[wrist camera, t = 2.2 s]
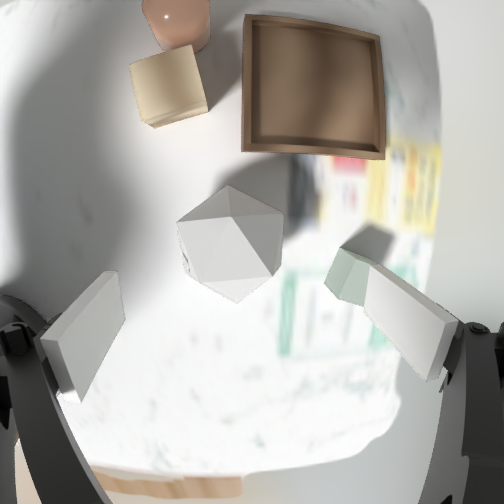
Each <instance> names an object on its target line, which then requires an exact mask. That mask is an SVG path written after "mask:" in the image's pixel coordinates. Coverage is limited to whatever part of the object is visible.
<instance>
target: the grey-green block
mask: <svg viewBox="0 0 504 504" xmlns="http://www.w3.org/2000/svg"><path fill="white" fill-rule="evenodd" d="M370 265H378V264H377V263H375V262H374V261H372V260H371V259H368V258H366V257H363V256H361V255H358V254H356V253H353V252H350V251H348V250H345V249H343V248H340V247H339V250H338V252H337V254H336V257H335V259H334V261H333V264H332V266H331V268H330V270H329V273H328V275H327V277H326V279H325V282H324V284H325V285H326V286H327V287H328V288H329V290H330V291H331V292H332V293H333V294H334V295H335V296H336V298H337V299H339V300H343V301H346V302H350V303H353V304H356V305H360V306H363V307H364V303H365V297H366V290H367V284H368V277H369V270H370Z"/></svg>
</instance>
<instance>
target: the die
mask: <svg viewBox="0 0 504 504" xmlns="http://www.w3.org/2000/svg"><path fill="white" fill-rule="evenodd" d="M283 224H284V213H282V212H280V211H278V210H276V209H274V208H272V207H270V206H268V205H266V204H264V203H262V202H260V201H259V200H257V199H255V198H253V197H251V196H249V195H247V194H245V193H243V192H241V191H239V190H237V189H235V188H233V187H231V186H229V185H226V186H225V187H223V188H222V189H221V190H219V191H218V192H216V193H215V194H214V195H212V196H211V197H209V198H208V199H207V200H205V201H204V202H203V203H201V204H200V205H199V206H197V207H196V208H195V209H193V210H192V211H190V212H189V213H188V214H186V215H185V216H184V217H182V218H181V219H180V220H179V221H177V222H176V226H177V231H178V237H179V242H180V247H181V253H182V258H183V263H184V268H185V273H186V274H187V275H189V276H190V277H192V278H193V279H194V280H196V281H197V282H199V283H200V284H202V285H204V286H206V287H208V288H209V289H211V290H213V291H215V292H216V293H218V294H220V295H222V296H224V297H226V298H227V299H229V300H231V301H233V302H235V303H239V302H240V301H241V300H243V299H244V298H245V297H246V296H248V295H249V294H250V293H252V292H253V291H254V290H256V289H257V288H258V287H259V286H261V285H262V284H263V283H265V282H266V281H267V280H268V279H270V278H271V277H272V276H273V275H274V274H275V272H276V271H277V270H278V269H279V267H280V266H281V260H282V243H283Z"/></svg>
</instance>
